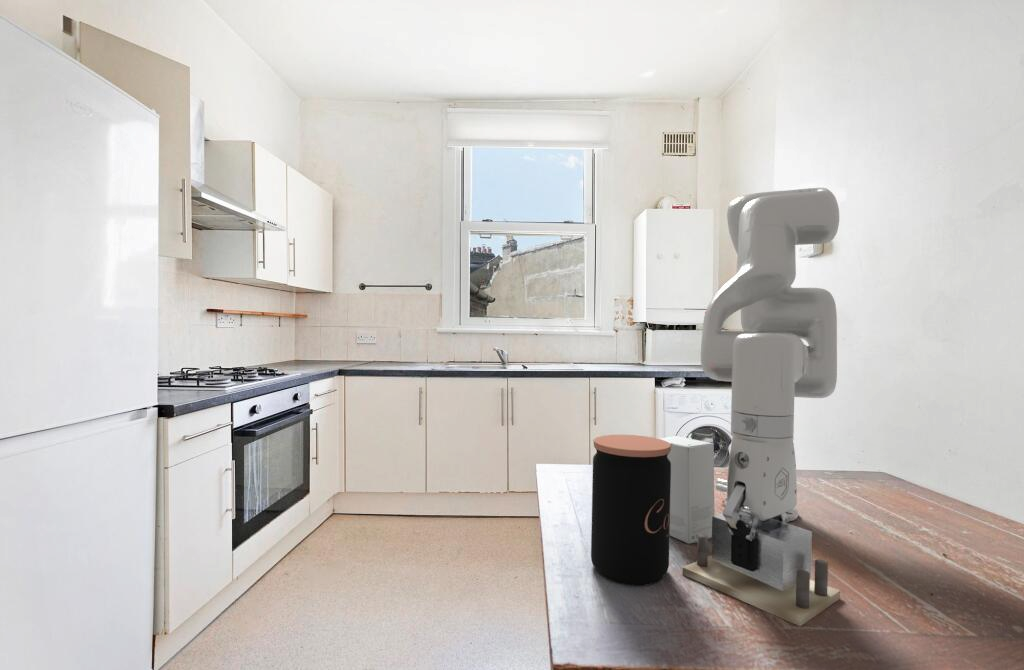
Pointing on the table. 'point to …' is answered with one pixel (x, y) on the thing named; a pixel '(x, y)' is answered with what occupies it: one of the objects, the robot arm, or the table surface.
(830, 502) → the table surface
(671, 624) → the table surface
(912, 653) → the table surface
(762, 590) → the cream peg board
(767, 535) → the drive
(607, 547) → the coffee jar
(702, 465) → the skincare box
